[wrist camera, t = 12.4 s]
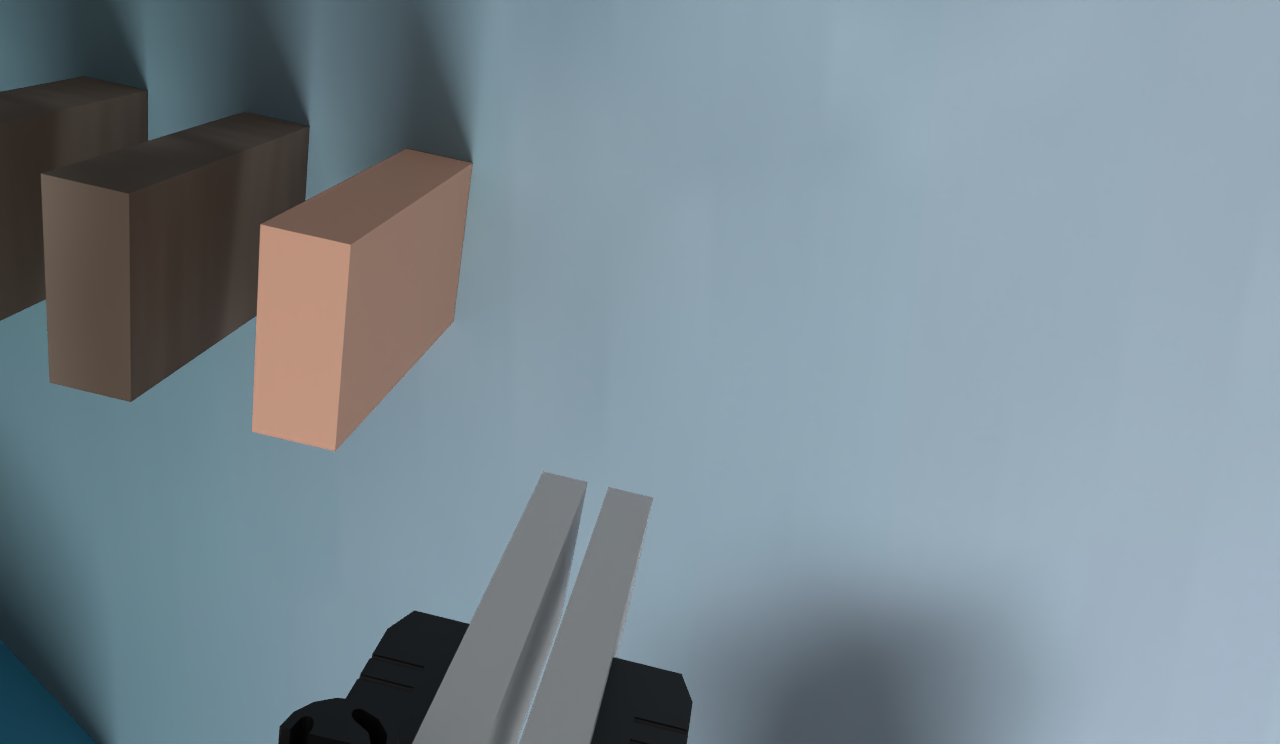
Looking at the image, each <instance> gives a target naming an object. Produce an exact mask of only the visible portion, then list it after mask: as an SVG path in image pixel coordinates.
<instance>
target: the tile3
mask: <svg viewBox="0 0 1280 744" xmlns="http://www.w3.org/2000/svg"><path fill="white" fill-rule="evenodd" d="M147 141H148V91H147V90H143V89H138V88H134V87H129V86H125V85H120V84H116V83H111V82H107V81H102V80H98V79H93V78H89V77H84V76H83V77H77V78H72V79H67V80H61V81H56V82H51V83H45V84H40V85H35V86H29V87H24V88H18V89H13V90H8V91H2V92H0V321H1V320H3V319H5V318H7V317H9V316H11V315H13V314H15V313H17V312H20V311H22V310H24V309H26V308H28V307H30V306H32V305H34V304H37V303H39V302H41V301H43V300H45V299H46V284H45V261H44V237H43V214H42V191H41V173H45V172H48V171H51V170H55V169H58V168H61V167H64V166H68V165H71V164H74V163H78V162H81V161H84V160H87V159H91V158H94V157H97V156H101V155H104V154H107V153H111V152H114V151H117V150H120V149H124V148H127V147H130V146H134V145H137V144H140V143H143V142H147Z"/></svg>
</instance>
